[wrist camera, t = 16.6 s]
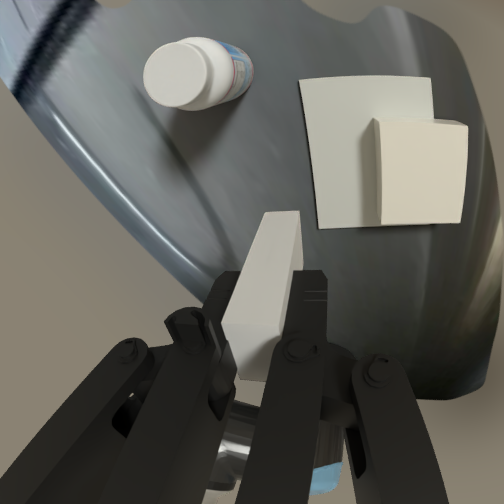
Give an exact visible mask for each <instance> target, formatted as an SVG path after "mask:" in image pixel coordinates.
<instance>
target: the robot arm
mask: <svg viewBox="0 0 504 504" xmlns="http://www.w3.org/2000/svg"><path fill="white" fill-rule="evenodd" d="M327 281H328V279H327V278H326V276H325V275H324V273H323V272H322V270H303V252H302V238H301V226H300V214H299V211H281V212H265V214H264V216H263V219H262V221H261V224H260V226H259V229H258V231H257V234H256V236H255V239H254V241H253V244H252V246H251V249H250V251H249V254H248V256H247V259H246V261H245V264H244V266H243V269H242V271H225V272H224V273H223V274H222V275H220V276H219V277H218V278H217V279H216V280H215V282H214V284H213V286H212V288H211V291H210V292H209V294H208V297H207V300H206V301H205V303H204V305H203V307H202V309H201V308H197V307H185V308H182V309H179V310H177V311H175V312H174V313H172V314H171V315H169V316H168V317H167V319H166V320H165V321H164V323H165V325H166V327H167V329H168V331H169V333H170V335H171V337H172V339H173V341H174V342H173V344H170V345H165V346H159V347H150V348H148V346H147V344H146V343H145V342H144V341H143V340H142V339H139V338H128V339H125V340H123V341H121V342H119V343H118V344H117V345H116V346H115V347H113V349H112V350H111V351H110V352H109V353H108V354H107V355H106V356H105V357H104V358H103V359H102V361H101V362H100V363H99V364H98V365H97V366H96V367H95V368H94V369H93V370H92V371H91V373H90V374H89V375H88V376H87V377H86V378H85V379H84V381H82V383H81V384H80V385H79V386H78V387H77V388H76V389H75V390H74V391H73V393H72V394H71V395H70V396H69V397H68V398H67V399H66V401H65V402H64V403H63V404H62V405H61V406H60V408H59V409H58V410H57V411H56V412H55V413H54V414H53V416H52V417H51V418H50V419H49V420H48V421H47V422H46V424H45V425H44V426H43V427H42V428H41V429H40V431H39V432H38V433H37V434H36V436H35V437H34V438H33V439H32V440H31V441H30V443H29V444H28V445H27V446H26V447H25V449H24V450H23V451H22V452H21V454H20V455H19V456H18V457H17V458H16V460H15V461H14V462H13V463H12V465H11V466H10V467H9V468H8V470H7V471H6V472H5V474H4V475H3V476H2V477H1V479H0V504H217V501H218V499H219V497H220V496H222V495H225V494H227V493H230V492H232V491H233V489H234V487H235V484H236V481H237V480H241V484H240V487H239V491H238V494H237V498H236V501H235V504H308V499H309V495H316V494H322V493H327V492H329V491H331V490H333V489H334V488H335V487H336V486H337V484H338V482H339V477H340V472H341V467H342V465H343V462H342V457H343V444H344V439H345V444H346V449H347V454H348V459H349V464H350V469H351V475H352V480H353V486H354V491H355V497H356V503H357V504H449V502H448V498H447V494H446V490H445V487H444V482H443V479H442V475H441V472H440V469H439V465H438V462H437V459H436V456H435V452H434V449H433V446H432V443H431V440H430V437H429V434H428V431H427V428H426V425H425V423H424V420H423V417H422V414H421V412H420V409H419V406H418V404H417V401H416V398H415V396H414V393H413V391H412V388H411V386H410V383H409V381H408V378H407V376H406V374H405V371H404V369H403V367H402V366H401V364H400V363H399V361H398V360H396V359H395V358H393V357H391V356H389V355H385V354H381V353H378V354H370V355H367V356H365V357H362V358H361V359H360V360H359V361H358V360H356V359H355V357H354V356H353V355H352V354H351V353H350V352H349V351H348V350H346V349H344V348H342V347H340V346H338V345H335V344H331V343H328V341H327V337H326V330H327ZM237 372H238V375H239V378H240V379H241V380H251V381H263V382H266V385H265V389H264V393H263V398H262V402H261V406H260V407H258V406H254V405H250V404H247V403H243V402H240V401H237V400H234V398H235V393H236V388H235V385H234V379H235V376H236V373H237ZM131 393H134V395H133V396H131V397H129V396H130V394H131Z"/></svg>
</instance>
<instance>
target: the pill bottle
mask: <svg viewBox="0 0 504 504" xmlns="http://www.w3.org/2000/svg"><path fill="white" fill-rule="evenodd" d="M252 79H253V65H252V62H251V60H250V58H249V57H248V55H247V54H246V53H245V52H244V51H242V50H241V49H239V48H237V47H235V46H232V45H229V44H226V43H222V42H219V41H216V40H212V39H208V38H203V37H191V38H186V39H183V40H180V41H178V42H175V43H169V44H166V45H164V46H162V47H160V48H158V49H157V50H156V51H155V52H154V53H153V54H152V55H151V56H150V57H149V59H148V61H147V63H146V65H145V68H144V74H143V80H144V85H145V89H146V91H147V93H148V94H149V96H150V97H151V98H152V99H153V100H154V101H155V102H157V103H158V104H160V105H163V106H166V107H176V108H178V109H182V110H187V111H198V110H203V109H206V108H209V107H212V106H215V105H218V104H221V103H224V102H227V101H230V100H233V99H235V98H237V97H239V96H240V95H242V94H243V93H244V92H245V91H246V90H247V89H248V88H249V86H250V84H251V82H252Z"/></svg>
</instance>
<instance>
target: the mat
mask: <svg viewBox="0 0 504 504" xmlns="http://www.w3.org/2000/svg"><path fill="white" fill-rule="evenodd" d="M299 83H300V89H301V94H302V100H303V106H304V112H305V119H306V125H307V132H308V138H309V146H310V153H311V160H312V168H313V177H314V185H315V194H316V204H317V214H318V224H319V229H326V228H348V227H371V226H396V225H427V224H430V223H422V224H385V225H381V222H380V220H379V217H378V214H377V183H376V152H375V135H374V122H373V117H401V118H427V119H434V116H433V101H432V89H431V79H430V78H424V77H408V76H343V77H327V78H315V79H304V80H299Z"/></svg>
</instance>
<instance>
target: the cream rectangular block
mask: <svg viewBox="0 0 504 504" xmlns="http://www.w3.org/2000/svg"><path fill="white" fill-rule="evenodd" d="M373 122H374V135H375V152H376V183H377V214H378V217H379V220H380V222H381V225H385V224H422V223H460V220H461V214H462V207H463V199H464V191H465V181H466V168H467V150H468V126H466V125H464V124H462V123H459V122H457V121H454V120H442V119H427V118H401V117H373Z"/></svg>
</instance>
